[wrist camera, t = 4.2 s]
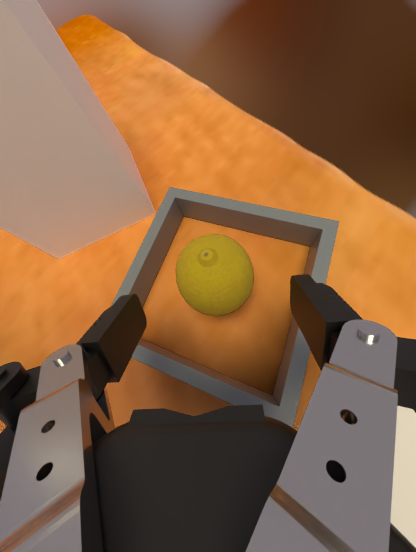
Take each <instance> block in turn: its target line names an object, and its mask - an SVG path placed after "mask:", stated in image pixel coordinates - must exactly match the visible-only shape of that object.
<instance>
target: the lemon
mask: <svg viewBox="0 0 416 552" xmlns="http://www.w3.org/2000/svg"><path fill="white" fill-rule="evenodd" d="M176 282H177V285H178V288H179V291H180V294H181V295H182V297H183V298H184V299H185V301H186V302H187V303H188V304H189V305H190V306H191V307H193V308H194V309H195V310H197V311H199V312H201V313H203V314H207V315H213V316H218V315H225V314H228V313H231V312H234V311H235V310H236V309H238V308H239V307H241V306H242V305H243V303H244V302H245V301H246V300H247V299H248V297H249V295H250V293H251V291H252V287H253V282H254V272H253V266H252V263H251V260H250V258H249V256H248V254H247V253H246V251H245V250H244V248H243V247H242V246H241V245H240V244H238V243H237V242H236V241H235V240H233V239H231V238H229V237H227V236H224V235H219V234H209V235H204V236H200V237H198V238H196V239H194V240H193V241H191V242H190V243H189V244H188V245H187V246H186V247H185V248H184V249H183V251H182V252H181V254H180V256H179V258H178V260H177V265H176Z"/></svg>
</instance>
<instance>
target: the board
mask: <svg viewBox="0 0 416 552" xmlns="http://www.w3.org/2000/svg"><path fill="white" fill-rule="evenodd" d="M390 522H391V523H392V524H393V525H394V526H395V527H396V528H397V529H398V530H399V531H400V532H401V533H402V534H403V535H404V536H405V537H406V538H407V539H408V540H409V541H410V542H411V543H412V544H413V545H414V546H415V547H416V413H415V411H414V410H413V409H410V408H405V407H401V406H397V421H396V437H395V454H394V470H393V487H392V503H391V520H390Z"/></svg>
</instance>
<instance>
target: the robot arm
mask: <svg viewBox="0 0 416 552" xmlns="http://www.w3.org/2000/svg"><path fill="white" fill-rule="evenodd" d="M290 306H291V311H292V314H293V317H294V318H295V320H296V322H297V324H298V326H299V328H300V330H301V332H302V334H303V336H304V338H305V340H306V342H307V344H308V346H309V348H310V350H311V352H312V354H313V356H314V358H315V360H316V362H317V364H318V366H319V367H320V369H321V371H322V372H321V374H320V377H319V379H318V382H317V384H316V387H315V389H314V392H313V394H312V397H311V399H310V402H309V404H308V407H307V409H306V412H305V414H304V417H303V419H302V422H301V424H300V427H299V429H298V431H297V430H295V429H294V428H292V427H291V426H289V425H287V424H285V423H283V422H281V421H279V420H276V419H274V418H270V417H267V416H265V415H264V409H263V404H261V405H237V406H227V407H224V408H220V409H217V410H214V411H211V412H208V413H205V414H202V415H198V416H190V415H186V414H182V413H178V412H175V411H171V410H167V409H141V410H133V413H132V415H131V418H130V421H129V422H128V423H125V424H123V425H121V426H119V427H117V428H115V425H114V420H113V415H112V411H111V406H110V402H109V397H108V393H107V390H106V389H105V386H106V385H107V383H111V382H119V381H120V379H121V377H122V375H123V373H124V371H125V369H126V367H127V365H128V363H129V361H130V359H131V357H132V355H133V353H134V351H135V349H136V347H137V345H138V343H139V341H140V339H141V337H142V335H143V333H144V331H145V328H146V316H145V314H144V311H143V308H142V305H141V303H140V300H139V297H138V296H137V295H136V294H129V295H122V296H120V297H119V298H118V299H117V301H116V302H115V303H114V304H113V305H112V306H111V307H110V308H108V309H107V310H106V311H104V312H103V313H102V314H101V316H100V317H99V318H98V320H96V321H95V323H94V324H93V325H92V326H91V327H90V328H89V330H88V331H87V332H86V333H85V334H84V335H83V337H82V338H81V339H80V340H79V341H78V342H77V344H73V345H68V346H65V347H63V348H61V349H59V350H57V351H55V352H54V353H52V354H51V355H50V356H49V357H48V358H47V359H46V360H45V361H44V362H43V363H42V365H41V366H38V367H35V368H32V369H29V370H25V368H24V367H23V366H22V365H21V363H20V362H11V363H8V364H5V365H3V366H0V420H1V421H2V422H3V423H4V424H5V425H6V426H7V427H6V428H5V429H4V430H3V432H2V433H1V434H0V501H1V502H0V552H416V547H415V546H414V545H413V544H412V543H411V542H410V541H409V540H408V539H407V538H406V537H405V536H404V535H403V534H402V533H401V532H400V531H399V530H398V529H397V528H396V527H395V526H394V525H393V524H392V523H391V522H390V520H391V503H392V487H393V470H394V454H395V437H396V421H397V406H401V407H405V408H410V409H413V410H414V411H415V413H416V340H415V339H407V338H400V337H396V336H395V334H394V333H393V332H392V331H391V330H390V329H388V328H387V327H385V326H383V325H381V324H378V323H376V322H372V321H368V320H363V319H362V318H361V317H360V316H359V315H358V314H357V313H356V312H355V311H354V310H353V309H352V308H351V307H350V306H349V305H348V304H347V303H346V302H345V301H343V299H342V298H341V297H340V296H339V295H338V294H337V293H336V292H335V290H334V289H333V288H331V287H329V286H327V285H325V284H323V283H316V282H315V281H314V280H313V278H312V277H311V276H310V275H309V274H303V275H295V276H291V281H290Z"/></svg>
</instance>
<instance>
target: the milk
mask: <svg viewBox="0 0 416 552" xmlns="http://www.w3.org/2000/svg"><path fill="white" fill-rule="evenodd" d="M155 214H156V212H155V209H154V207H153V205H152V202H151V200H150V197H149V195H148V192H147V190H146V187H145V185H144V182H143V180H142V178H141V175H140V173H139V170H138V168H137V165H136V163H135V160H134V158H133V156H132V153H131V151H130V148H129V147H128V145H127V143H126V142H125V140H124V139H123V137H122V136H121V134H120V132H119V131H118V129H117V128H116V126H115V124H114V123H113V121H112V120H111V118H110V116H109V115H108V113H107V112H106V110H105V108H104V107H103V105H102V104H101V102H100V100H99V99H98V97H97V96H96V94H95V92H94V91H93V89H92V88H91V86H90V84H89V83H88V81H87V80H86V78H85V77H84V75H83V73H82V72H81V70H80V69H79V67H78V65H77V64H76V62H75V61H74V59H73V57H72V56H71V54H70V53H69V51H68V49H67V48H66V46H65V45H64V43H63V41H62V40H61V38H60V37H59V35H58V33H57V32H56V30H55V29H54V27H53V25H52V24H51V22H50V21H49V19H48V18H47V16H46V14H45V13H44V11H43V10H42V8H41V7H40V5H39V3H38V2H37V0H0V228H1V229H3V230H5V231H7V232H9V233H10V234H12V235H14V236H16V237H18V238H20V239H22V240H23V241H25V242H27V243H29V244H31V245H33V246H35V247H36V248H38V249H40V250H42V251H44V252H46V253H48V254H49V255H51V256H53V257H55V258H57V259H61V258H63V257H65V256H67V255H70V254H72V253H74V252H76V251H78V250H80V249H82V248H84V247H87V246H89V245H91V244H93V243H95V242H97V241H99V240H102V239H104V238H106V237H108V236H110V235H112V234H114V233H117V232H119V231H121V230H123V229H125V228H127V227H129V226H131V225H134V224H136V223H138V222H140V221H142V220H144V219H146V218H149V217H151V216H153V215H155Z"/></svg>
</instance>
